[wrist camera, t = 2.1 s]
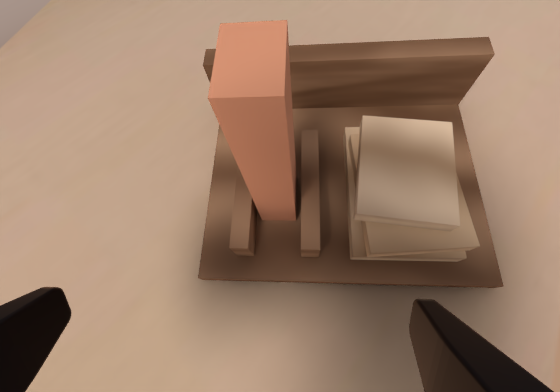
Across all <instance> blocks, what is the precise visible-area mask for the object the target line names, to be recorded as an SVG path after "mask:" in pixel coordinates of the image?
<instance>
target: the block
mask: <svg viewBox="0 0 560 392" xmlns="http://www.w3.org/2000/svg"><path fill="white" fill-rule="evenodd" d="M208 99H209V102H210V104H211V106H212V108H213V111H214V113H215V115H216V117H217V120H218V122H219V124H220V126H221V129H222V131H223V133H224V135H225V138H226V140H227V142H228V144H229V147H230V149H231V151H232V153H233V156H234V158H235V160H236V162H237V165H238V167H239V169H240V171H241V174H242V176H243V178H244V180H245V183H246V185H247V187H248V189H249V192H250V194H251V196H252V198H253V201H254V203H255V205H256V208H257V210H258V212H259V214H260V217H261V219H262V220H287V221H296V186H297V176H296V159H295V142H294V126H293V109H292V92H291V76H290V59H289V43H288V26H287V20H280V21H261V22H241V23H221V24H220V27H219V34H218V40H217V46H216V52H215V58H214V64H213V70H212V76H211V82H210V89H209V95H208Z"/></svg>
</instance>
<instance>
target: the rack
mask: <svg viewBox="0 0 560 392" xmlns="http://www.w3.org/2000/svg"><path fill="white" fill-rule="evenodd" d="M215 52H216V49H206V52H205V57H204V63H203V66H204V69H205V71H206V74H207V76H208V79H209V81H210V82H211V76H212V70H213V64H214V58H215ZM493 56H494V51H493V48H492V45H491V42H490V39H489V37H478V38H455V39H432V40H409V41H386V42H363V43H340V44H317V45H294V46H289V59H290V76H291V92H292V109H293V126H294V142H295V159H296V176H297V186H296V221H287V220H262V219H261V217H260V214H259V212H258V210H257V208H256V205H255V203H254V201H253V198H252V196H251V194H250V192H249V189H248V187H247V185H246V183H245V180H244V178H243V176H242V174H241V171H240V169H239V167H238V165H237V162H236V160H235V158H234V156H233V153H232V151H231V149H230V147H229V144H228V142H227V140H226V138H225V135H224V133H223V131H222V129H221V126H220V124H219V131H218V138H217V145H216V153H215V160H214V167H213V174H212V182H211V189H210V196H209V203H208V210H207V218H206V225H205V232H204V239H203V247H202V254H201V261H200V268H199V275H198V278H199V279H202V280H230V281H267V282H303V283H340V284H376V285H412V286H449V287H485V288H496V287H502V286H503V282H502V278H501V274H500V270H499V266H498V262H497V258H496V254H495V250H494V246H493V242H492V238H491V234H490V230H489V226H488V222H487V218H486V214H485V210H484V206H483V202H482V198H481V194H480V190H479V186H478V182H477V178H476V174H475V170H474V166H473V162H472V158H471V154H470V150H469V146H468V142H467V138H466V134H465V130H464V126H463V122H462V118H461V114H460V110H459V106H458V104H459V103H460V101H461V100H462V99H463V97H464V96H465V94H466V93H467V92H468V90H469V89H470V88H471V86H472V85H473V83H474V82H475V81H476V79H477V78H478V76H479V75H480V74H481V72H482V71H483V70H484V68H485V67H486V65H487V64H488V63H489V61H490V60H491V59H492V57H493Z"/></svg>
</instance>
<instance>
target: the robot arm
mask: <svg viewBox="0 0 560 392" xmlns="http://www.w3.org/2000/svg"><path fill="white" fill-rule="evenodd" d="M70 318H71V309H70V307H69V304H68V302H67V299H66V297H65V294H64V292H63V290H62V289H61V288H58V287H43V288H40V289H37V290H35V291H33V292H30V293H28V294H26V295H24V296H21V297H19V298H17V299H14V300H12V301H10V302H8V303H5V304H3V305H1V306H0V392H25V391H26V390H27V388H28V387H29V385H30V384H31V382H32V381H33V379H34V378H35V376H36V375H37V373H38V372H39V370H40V368H41V367H42V365H43V363H44V362H45V360H46V359H47V357H48V355H49V354H50V352H51V350H52V349H53V347H54V345H55V344H56V342H57V340H58V339H59V337H60V335H61V334H62V332H63V331H64V329H65V327H66V326H67V324H68V322H69V320H70ZM409 331H410V337H411V341H412V345H413V348H414V352H415V356H416V360H417V364H418V368H419V372H420V375H421V379H422V383H423V387H424V391H425V392H553V391H552V390H551V389H550V388H548V387H547V386H546V385H544V384H543V383H542V382H540V381H539V380H538V379H537V378H535V377H534V376H533V375H531V374H530V373H529V372H527V371H526V370H525V369H524V368H522V367H521V366H520V365H518V364H517V363H516V362H514V361H513V360H512V359H511V358H509V357H508V356H507V355H505V354H504V353H503V352H501V351H500V350H499V349H498V348H496V347H495V346H494V345H492V344H491V343H490V342H488V341H487V340H486V339H484V338H483V337H482V336H481V335H479V334H478V333H477V332H475V331H474V330H473V329H471V328H470V327H469V326H468V325H466V324H465V323H464V322H462V321H461V320H460V319H458V318H457V317H456V316H455V315H453V314H452V313H451V312H449V311H448V310H447V309H445V308H444V307H443V306H442V305H440V304H439V303H438V302H436V301H435V300H431V299H416V300H415V301H414V303H413V308H412V313H411V319H410V324H409Z"/></svg>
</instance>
